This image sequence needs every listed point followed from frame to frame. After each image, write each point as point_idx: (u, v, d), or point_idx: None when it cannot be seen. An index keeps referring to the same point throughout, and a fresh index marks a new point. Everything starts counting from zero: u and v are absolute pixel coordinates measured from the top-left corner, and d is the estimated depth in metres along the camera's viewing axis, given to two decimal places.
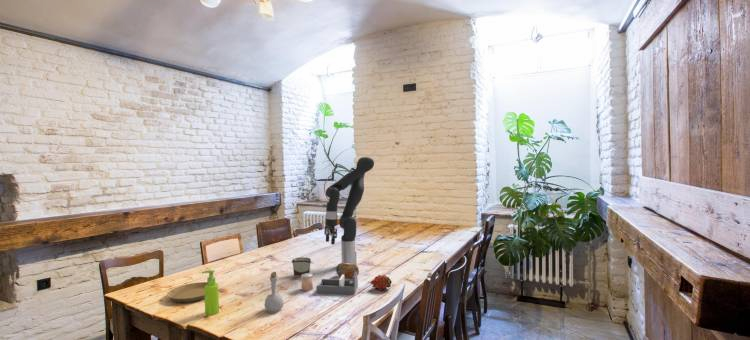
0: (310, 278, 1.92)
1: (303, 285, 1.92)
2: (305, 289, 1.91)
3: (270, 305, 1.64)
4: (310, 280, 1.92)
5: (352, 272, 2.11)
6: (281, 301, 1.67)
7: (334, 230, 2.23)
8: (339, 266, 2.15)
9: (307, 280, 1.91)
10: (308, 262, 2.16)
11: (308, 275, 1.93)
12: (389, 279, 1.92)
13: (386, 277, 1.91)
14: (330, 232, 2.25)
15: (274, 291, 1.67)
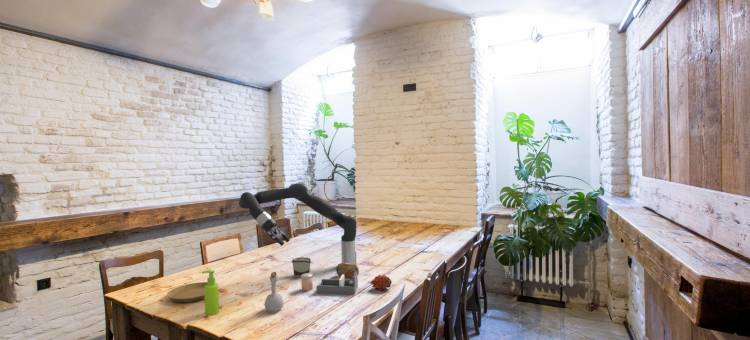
0: (310, 278, 1.92)
1: (303, 285, 1.92)
2: (305, 289, 1.91)
3: (270, 305, 1.64)
4: (310, 280, 1.92)
5: (352, 272, 2.11)
6: (281, 301, 1.67)
7: (268, 233, 1.89)
8: (339, 266, 2.15)
9: (307, 280, 1.91)
10: (308, 262, 2.16)
11: (308, 275, 1.93)
12: (389, 279, 1.92)
13: (386, 277, 1.91)
14: (272, 236, 1.92)
15: (274, 291, 1.67)
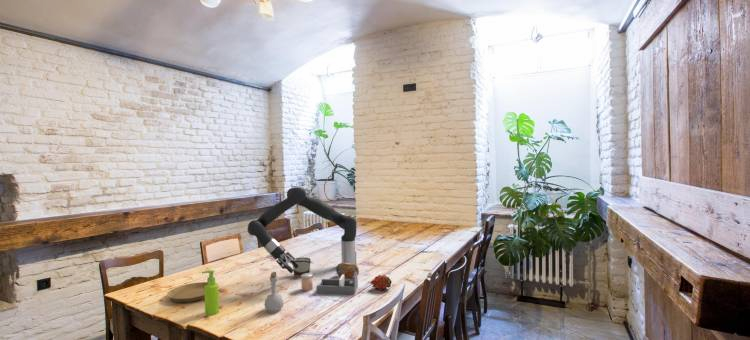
0: (310, 278, 1.92)
1: (303, 285, 1.92)
2: (305, 289, 1.91)
3: (270, 305, 1.64)
4: (310, 280, 1.92)
5: (352, 272, 2.11)
6: (281, 301, 1.67)
7: (278, 261, 1.89)
8: (339, 266, 2.15)
9: (307, 280, 1.91)
10: (308, 262, 2.16)
11: (308, 275, 1.93)
12: (389, 279, 1.92)
13: (386, 277, 1.91)
14: (281, 263, 1.92)
15: (274, 291, 1.67)
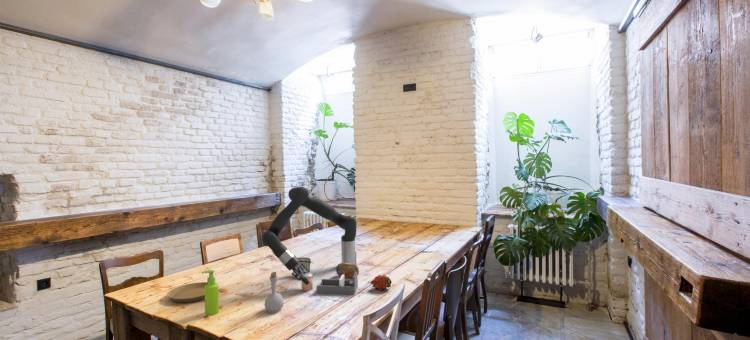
0: (310, 278, 1.92)
1: (303, 285, 1.92)
2: (305, 289, 1.91)
3: (270, 305, 1.64)
4: (310, 280, 1.92)
5: (352, 272, 2.11)
6: (281, 301, 1.67)
7: (293, 274, 1.88)
8: (339, 266, 2.15)
9: None
10: (308, 262, 2.16)
11: (308, 275, 1.93)
12: (389, 279, 1.92)
13: (386, 277, 1.91)
14: None
15: (274, 291, 1.67)
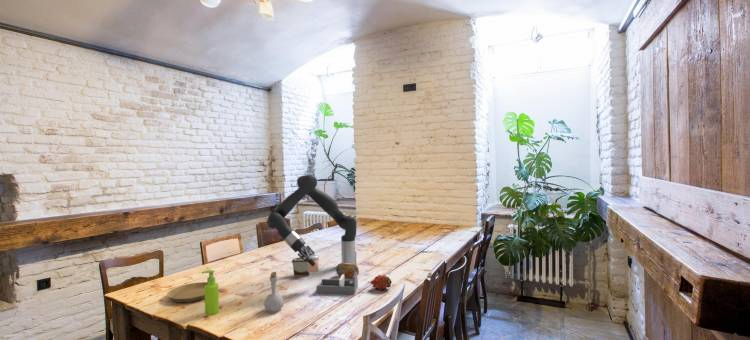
0: (316, 259, 1.91)
1: (309, 266, 1.91)
2: (311, 270, 1.91)
3: (270, 305, 1.64)
4: (316, 261, 1.92)
5: (352, 272, 2.11)
6: (281, 301, 1.67)
7: (299, 255, 1.87)
8: (339, 266, 2.15)
9: None
10: None
11: (314, 257, 1.92)
12: (389, 279, 1.92)
13: (386, 277, 1.91)
14: None
15: (274, 291, 1.67)
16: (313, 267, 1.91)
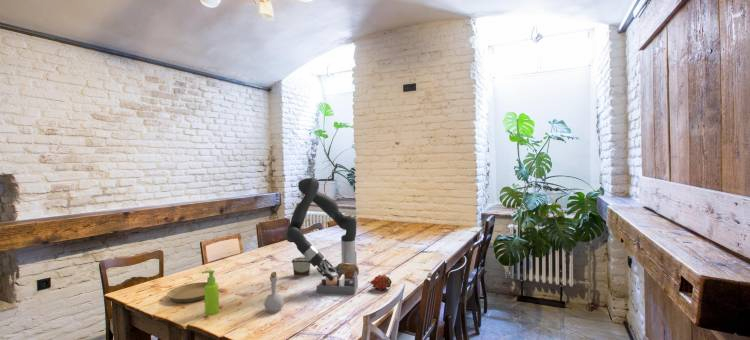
0: (335, 277, 1.90)
1: (328, 284, 1.90)
2: None
3: (270, 305, 1.64)
4: (335, 279, 1.91)
5: (352, 272, 2.11)
6: (281, 301, 1.67)
7: (318, 269, 1.86)
8: (339, 266, 2.15)
9: None
10: (308, 262, 2.16)
11: (333, 274, 1.91)
12: (389, 279, 1.92)
13: (386, 277, 1.91)
14: None
15: (274, 291, 1.67)
16: (332, 285, 1.90)
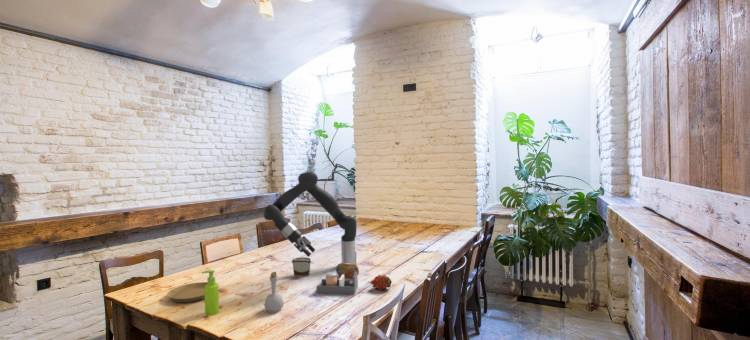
0: (335, 277, 1.90)
1: (328, 284, 1.90)
2: None
3: (270, 305, 1.64)
4: (335, 279, 1.91)
5: (352, 272, 2.11)
6: (281, 301, 1.67)
7: (295, 245, 1.90)
8: (339, 266, 2.15)
9: (332, 279, 1.90)
10: (308, 262, 2.16)
11: (333, 274, 1.91)
12: (389, 279, 1.92)
13: (386, 277, 1.91)
14: None
15: (274, 291, 1.67)
16: (332, 285, 1.90)
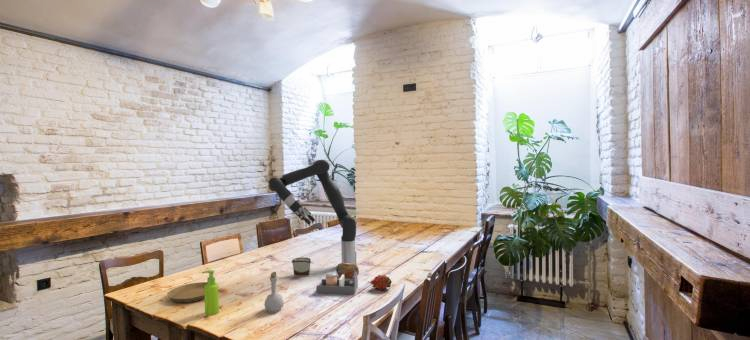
0: (335, 277, 1.90)
1: (328, 284, 1.90)
2: None
3: (270, 305, 1.64)
4: (335, 279, 1.91)
5: (352, 272, 2.11)
6: (281, 301, 1.67)
7: (297, 213, 2.06)
8: (339, 266, 2.15)
9: (332, 279, 1.90)
10: (308, 262, 2.16)
11: (333, 274, 1.91)
12: (389, 279, 1.92)
13: (386, 277, 1.91)
14: (300, 216, 2.10)
15: (274, 291, 1.67)
16: (332, 285, 1.90)
